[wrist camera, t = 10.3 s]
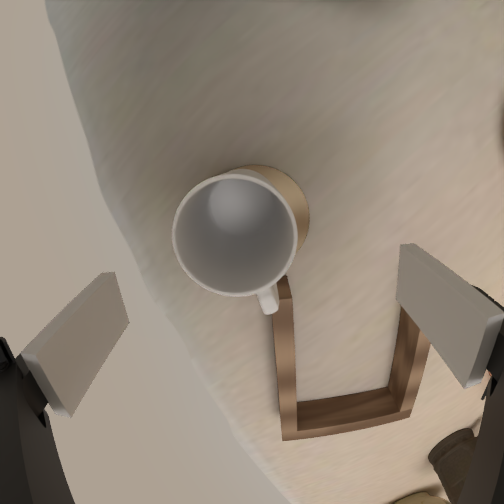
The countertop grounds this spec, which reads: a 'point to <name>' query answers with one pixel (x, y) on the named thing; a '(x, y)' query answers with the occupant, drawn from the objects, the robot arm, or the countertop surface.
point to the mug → (236, 236)
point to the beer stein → (454, 461)
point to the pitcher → (422, 499)
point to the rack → (349, 406)
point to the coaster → (288, 197)
